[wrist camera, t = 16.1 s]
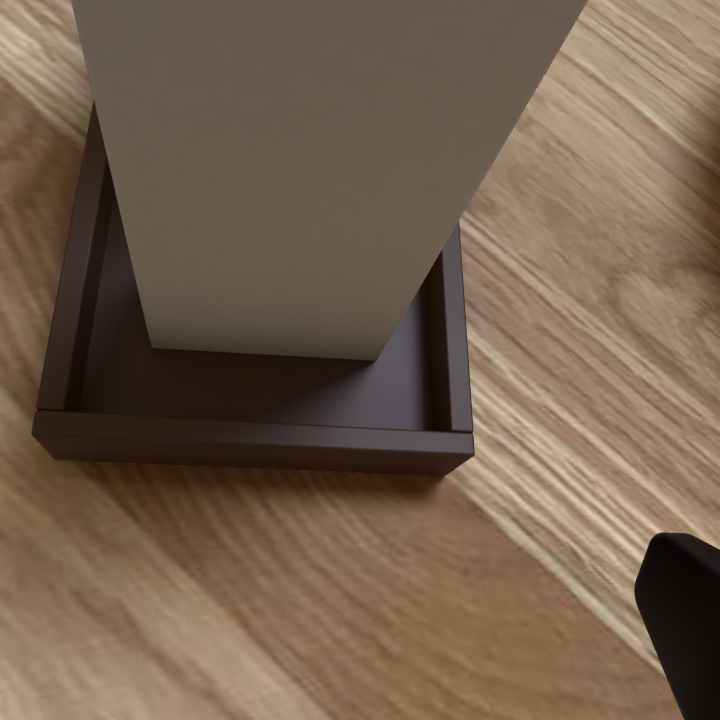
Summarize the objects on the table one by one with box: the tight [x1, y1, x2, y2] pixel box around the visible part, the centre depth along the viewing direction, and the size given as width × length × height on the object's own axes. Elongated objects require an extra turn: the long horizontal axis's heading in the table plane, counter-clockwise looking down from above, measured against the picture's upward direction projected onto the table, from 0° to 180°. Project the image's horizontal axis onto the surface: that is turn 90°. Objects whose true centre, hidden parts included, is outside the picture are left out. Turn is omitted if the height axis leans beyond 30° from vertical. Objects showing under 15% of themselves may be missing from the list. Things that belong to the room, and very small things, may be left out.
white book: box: [71, 0, 588, 361], centre depth 12 cm, size 2×6×15 cm, turn 91°
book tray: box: [31, 101, 475, 475], centre depth 20 cm, size 17×10×2 cm, turn 0°
